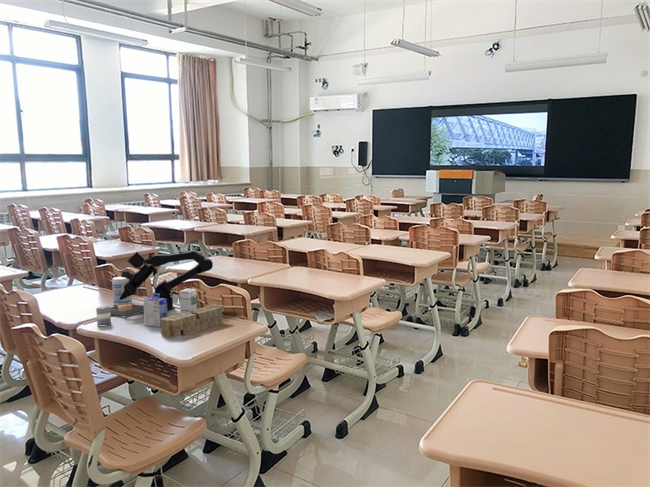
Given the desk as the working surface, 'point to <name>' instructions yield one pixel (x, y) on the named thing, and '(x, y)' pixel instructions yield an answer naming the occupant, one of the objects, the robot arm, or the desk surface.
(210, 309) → the block tower
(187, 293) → the syrup box
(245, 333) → the desk surface
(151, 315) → the ink cartridge box
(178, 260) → the robot arm
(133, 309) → the lid tray
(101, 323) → the cylinder
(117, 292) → the supplement tub
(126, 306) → the snap cap
